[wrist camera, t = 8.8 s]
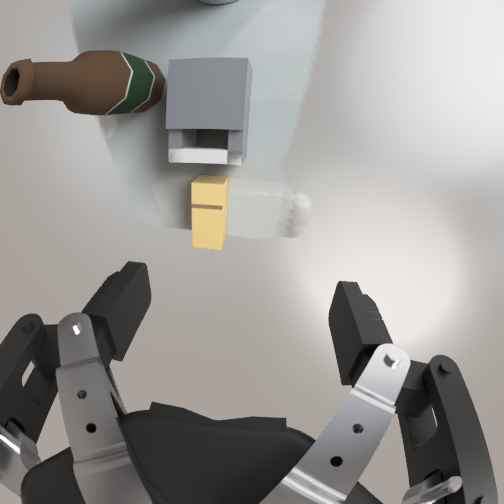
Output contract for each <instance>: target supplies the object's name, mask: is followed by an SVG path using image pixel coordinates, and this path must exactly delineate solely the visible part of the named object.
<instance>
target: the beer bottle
mask: <svg viewBox="0 0 504 504" xmlns="http://www.w3.org/2000/svg"><path fill="white" fill-rule="evenodd" d="M165 81H166V79H165V78H164V76H163V74H162V73H161V71H160V70H159V68H158V66H157V65H156V64H154V63H152V62H149V61H147V60H144V59H141V58H138V57H135V56H132V55H129V54H126V53H122V52H118V51H112V50H101V51H87V52H84V53H81V54H80V55H79V56H77V57H76V58H75V59H74V60H73V61H70V62H36V63H32V62H31V59H25V60H20V61H17V62H14V63H12V64H11V65H10V66H9V68H8V69H7V71H6V72H5V74H4V75H3V78H2V84H1V89H0V94H1V97H2V100H3V103H4V104H7V105H21V104H22V103H23V101H24V100H59V101H63V102H64V104H65V105H66V107H67V109H68V110H70V111H72V112H74V113H80V114H90V115H112V114H123V113H136V112H143V111H145V110H147V109H148V108H149V107H151V106H152V105H153V104H155V103H156V102H158V101H159V100H161V96H162V92H163V88H164V85H165Z"/></svg>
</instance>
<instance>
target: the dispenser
mask: <svg viewBox="0 0 504 504" xmlns="http://www.w3.org/2000/svg"><path fill="white" fill-rule="evenodd" d="M251 80H252V68H251V65H250V62H249V59H248V58H192V59H177V60H169V69H168V83H167V102H166V129H169V137H168V162H179V163H212V164H231V165H242V163H243V161H244V159H245V157H246V148H247V134H248V120H249V106H250V93H251ZM197 129H229V133H228V149H221V148H196V147H197Z"/></svg>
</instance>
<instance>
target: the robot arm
mask: <svg viewBox="0 0 504 504" xmlns="http://www.w3.org/2000/svg"><path fill="white" fill-rule="evenodd" d="M199 1H202V2H204V3H209V4H226V3H230V2H234V1H236V0H199ZM150 302H151V289H150V283H149V276H148V270H147V266H146V264H145V263H140V262H131V261H129V262H127V263H126V265H125V266H124V267H123V268H122V270H121V271H120V272H118V271H117V272H115V273H114V274H112V275H111V276H109V277H108V278H107V279H106V280H105V281H104V283H103V284H102V286H101V287H100V288H99V289H98V290H97V292H96V293H95V294H94V296H93V297H92V298H91V300H90V301H89V302H88V303H87V305H86V306H85V308H84V309H83V310H82V312H81V313H72V314H69V315H67V316H66V317H64V318H63V319H62V320H61V321H60V322H59V324H56V325H44V323H43V321H42V319H41V317H40V316H39V315H37V314H27V315H24V316H23V317H21V318H20V319H19V320H18V321H17V322H16V323H15V325H14V326H13V327H12V329H11V330H10V332H9V333H8V335H7V336H6V337H5V339H4V340H3V341H2V343H1V344H0V483H1V484H3V485H4V486H5V487H7V488H8V489H10V490H11V491H12V492H14V493H15V494H17V495H18V496H20V497H21V501H22V504H383V503H382V502H381V501H379V500H378V499H377V498H376V497H375V496H374V495H372V494H371V493H370V492H369V491H368V490H367V489H366V488H365V487H364V486H363V485H361V484H360V483H359V482H358V479H359V478H360V476H361V474H362V473H363V471H364V470H365V468H366V466H367V465H368V463H369V461H370V460H371V458H372V456H373V454H374V453H375V451H376V449H377V447H378V445H379V443H380V441H381V440H382V438H383V436H384V434H385V432H386V430H387V428H388V426H389V424H390V421H391V419H392V417H393V415H394V413H396V414H398V418H399V423H400V428H401V433H402V439H403V444H404V450H405V456H406V462H407V468H408V476H409V484H410V489H408V490H407V492H406V493H405V495H404V497H403V500H402V503H401V504H497V503H498V494H497V488H496V483H495V478H494V473H493V468H492V464H491V460H490V456H489V452H488V448H487V445H486V441H485V438H484V434H483V431H482V428H481V425H480V422H479V419H478V416H477V413H476V410H475V408H474V405H473V402H472V400H471V397H470V394H469V392H468V389H467V387H466V384H465V382H464V379H463V377H462V375H461V372H460V370H459V368H458V366H457V364H456V363H455V362H454V361H453V360H452V359H451V358H449V357H447V356H444V355H436V356H434V357H433V358H432V359H431V361H430V362H429V363H428V364H426V363H421V362H417V361H412V360H410V357H409V355H408V354H407V352H406V351H405V350H404V349H403V348H401V347H399V346H397V345H394V344H393V342H392V340H391V337H390V335H389V333H388V330H387V328H386V326H385V324H384V321H383V320H382V317H381V314H380V313H379V310H378V308H377V306H376V304H375V302H374V301H373V300H372V299H371V298H370V297H369V296H368V295H366V294H362V292H361V290H360V288H359V285H358V283H357V282H347V281H339V282H338V284H337V287H336V290H335V293H334V297H333V300H332V304H331V307H330V310H329V327H330V331H331V336H332V340H333V344H334V349H335V354H336V359H337V363H338V368H339V373H340V378H341V383H342V385H352V390H351V392H350V394H349V395H348V397H347V398H346V400H345V401H344V403H343V404H342V406H341V407H340V409H339V410H338V411H337V413H336V414H335V416H334V417H333V419H332V420H331V421H330V423H329V424H328V426H327V427H326V429H325V430H324V431H323V432H322V434H321V435H320V436H319V437H318V439H317V440H314V439H313V438H312V437H310V436H309V435H307V434H305V433H303V432H301V431H299V430H296V429H293V428H290V427H286V418H271V417H245V418H237V419H228V420H213V419H210V418H207V417H205V416H202V415H199V414H197V413H194V412H192V411H189V410H187V409H185V408H181V407H176V406H170V405H165V404H160V403H156V402H152V403H151V406H150V409H149V410H142V411H135V412H131V413H127V411H126V409H125V407H124V405H123V402H122V400H121V397H120V394H119V391H118V389H117V386H116V383H115V380H114V377H113V374H112V371H111V368H110V366H109V364H110V362H111V360H112V359H114V360H117V361H122V360H123V358H124V356H125V354H126V352H127V350H128V348H129V346H130V344H131V342H132V340H133V338H134V335H135V333H136V331H137V329H138V327H139V325H140V324H141V321H142V320H143V318H144V316H145V314H146V312H147V310H148V308H149V306H150ZM30 361H32V363H33V364H34V366H35V367H34V369H33V370H32V372H31V374H30V376H29V378H28V380H27V382H26V384H25V385H24V387H23V385H22V376H23V374H24V372H25V370H26V369H27V367H28V365H29V363H30ZM57 392H59V398H60V404H61V409H62V414H63V419H64V423H65V427H66V431H67V435H68V439H69V443H70V447H68V448H66V449H65V450H63V451H61V452H59V453H58V454H56V455H54V456H52V457H50V458H48V459H46V460H44V461H43V462H41V459H40V457H39V456H38V450H37V446H36V443H37V441H38V438H39V435H40V433H41V430H42V427H43V425H44V423H45V420H46V418H47V415H48V413H49V410H50V408H51V406H52V404H53V401H54V399H55V397H56V394H57ZM432 408H433V410H434V413H435V416H436V420H437V427H436V423H435V419H434V416H433V412H432Z"/></svg>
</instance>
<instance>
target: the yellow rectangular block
mask: <svg viewBox="0 0 504 504" xmlns="http://www.w3.org/2000/svg"><path fill="white" fill-rule="evenodd" d="M191 190H192V204H191V208H192V247H193V248H204V249H217V250H221V249H222V246H223V243H224V240H225V237H226V217H227V192H228V177H227V176H209V175H199V176H198V177H197V178H196V179H195V180H194V181H193V182H192V188H191Z"/></svg>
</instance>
